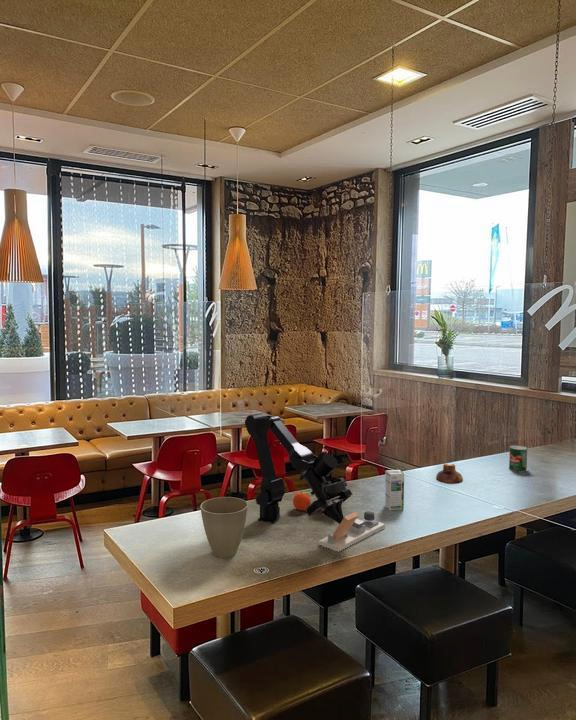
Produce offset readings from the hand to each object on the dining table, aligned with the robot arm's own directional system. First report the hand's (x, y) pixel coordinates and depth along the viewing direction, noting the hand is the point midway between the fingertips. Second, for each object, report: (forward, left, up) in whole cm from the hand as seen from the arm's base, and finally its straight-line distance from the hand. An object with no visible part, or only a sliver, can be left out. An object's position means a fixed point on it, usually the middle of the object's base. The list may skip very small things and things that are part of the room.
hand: (343, 524), depth 186 cm
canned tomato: (+52, +117, -7) cm, 128 cm away
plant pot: (-33, -20, -7) cm, 39 cm away
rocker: (+1, +10, -3) cm, 11 cm away
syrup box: (+8, +42, -7) cm, 43 cm away
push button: (+4, +18, -4) cm, 18 cm away
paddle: (-2, +1, -5) cm, 5 cm away
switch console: (+1, +9, -7) cm, 11 cm away
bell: (+23, +88, -8) cm, 91 cm away
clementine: (-24, +26, -7) cm, 36 cm away
